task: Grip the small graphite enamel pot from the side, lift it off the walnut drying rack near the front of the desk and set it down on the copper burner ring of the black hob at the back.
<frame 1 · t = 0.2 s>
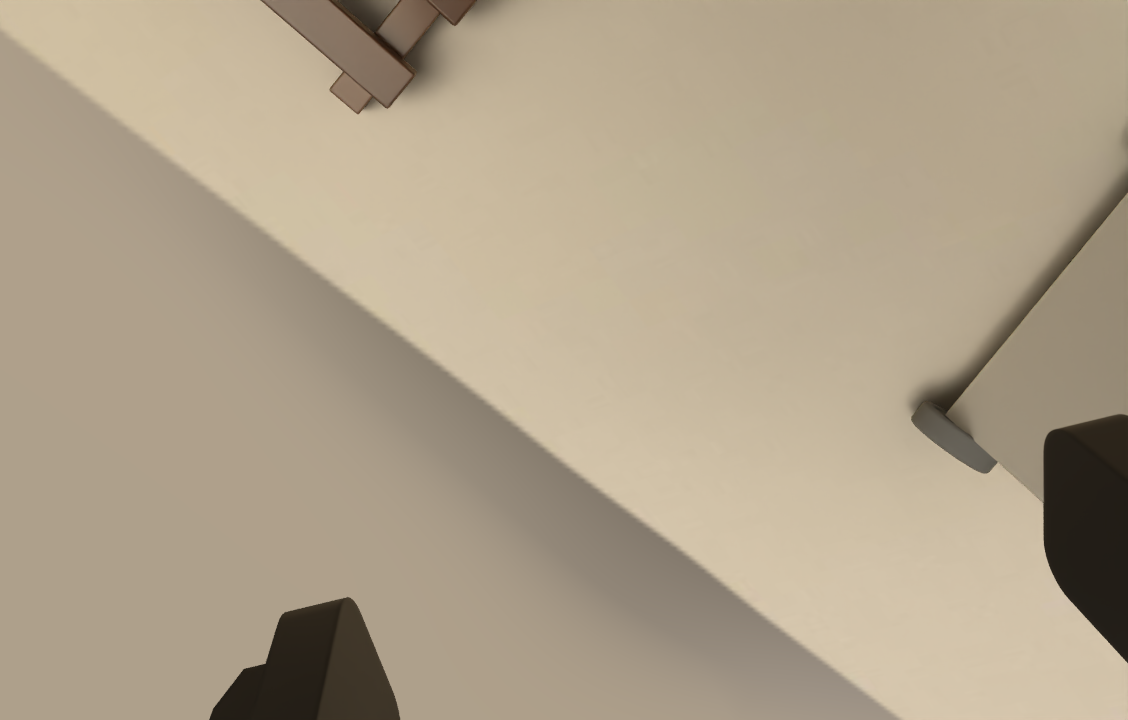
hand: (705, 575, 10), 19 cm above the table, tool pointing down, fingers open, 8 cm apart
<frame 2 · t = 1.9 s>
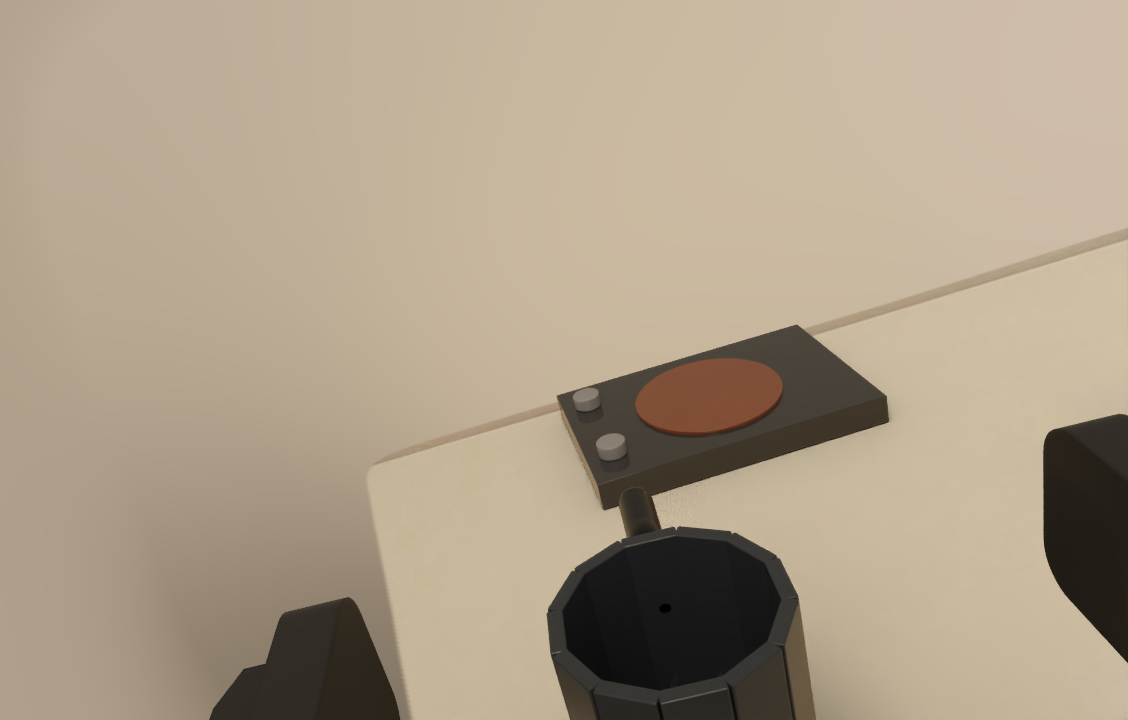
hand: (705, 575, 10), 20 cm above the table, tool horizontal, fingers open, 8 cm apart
stove: (712, 419, 52), on the table
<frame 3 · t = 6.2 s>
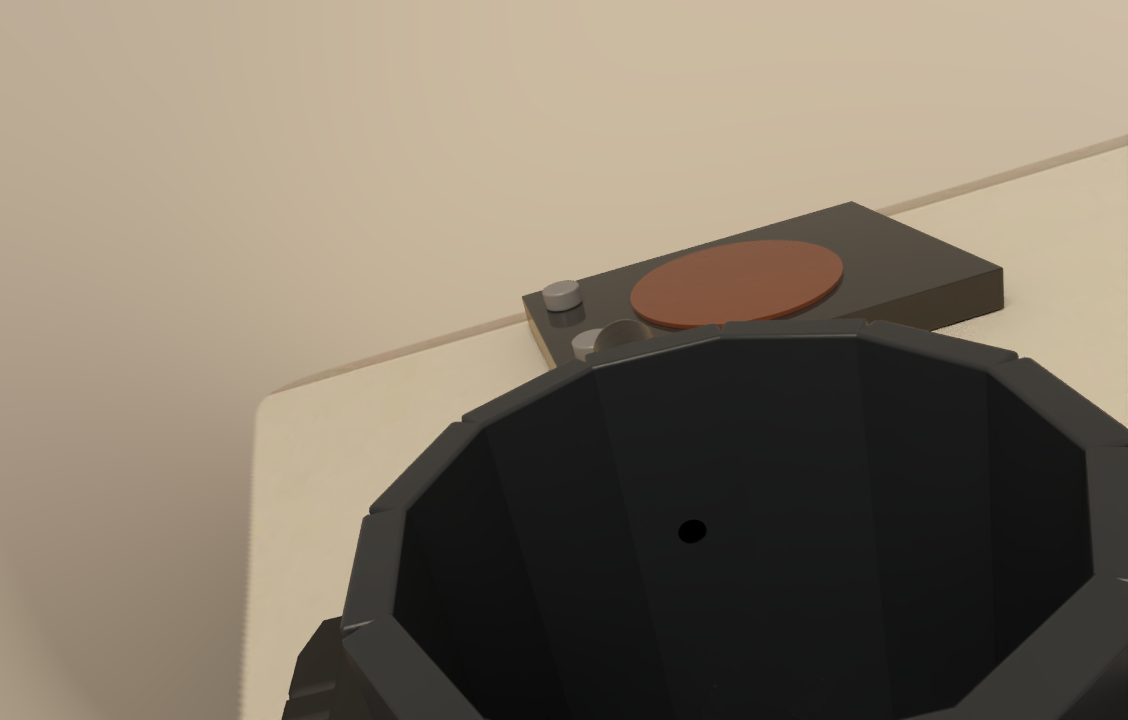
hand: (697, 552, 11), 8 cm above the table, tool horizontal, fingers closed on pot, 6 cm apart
stove: (739, 319, 37), on the table
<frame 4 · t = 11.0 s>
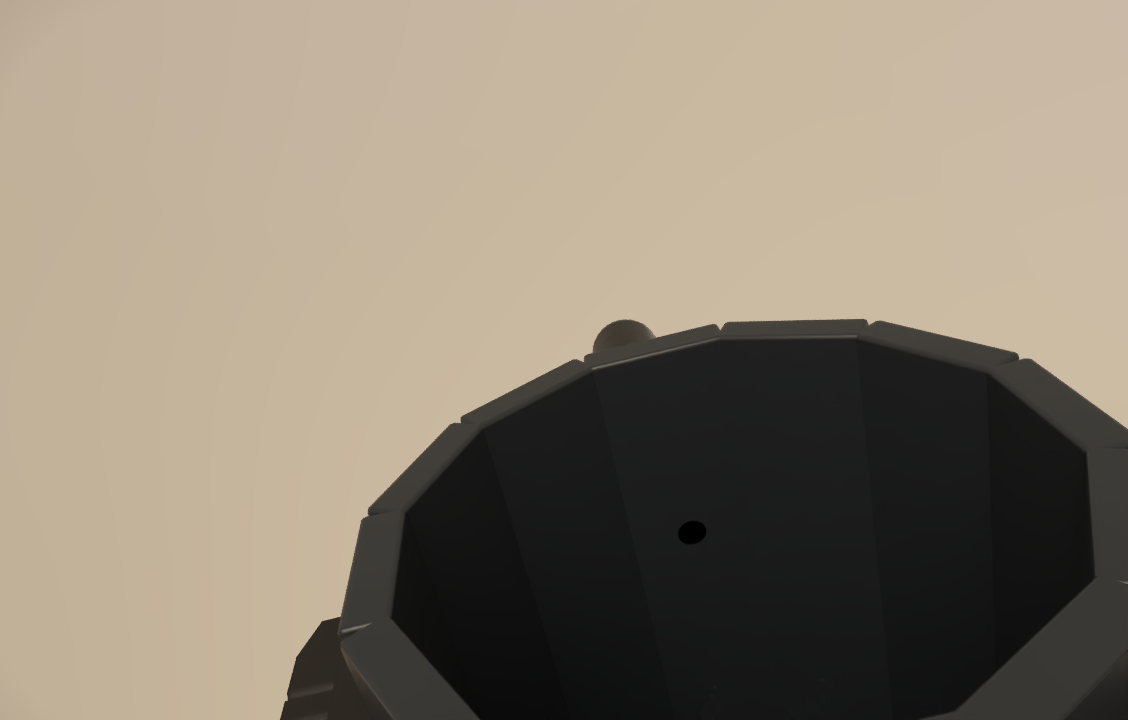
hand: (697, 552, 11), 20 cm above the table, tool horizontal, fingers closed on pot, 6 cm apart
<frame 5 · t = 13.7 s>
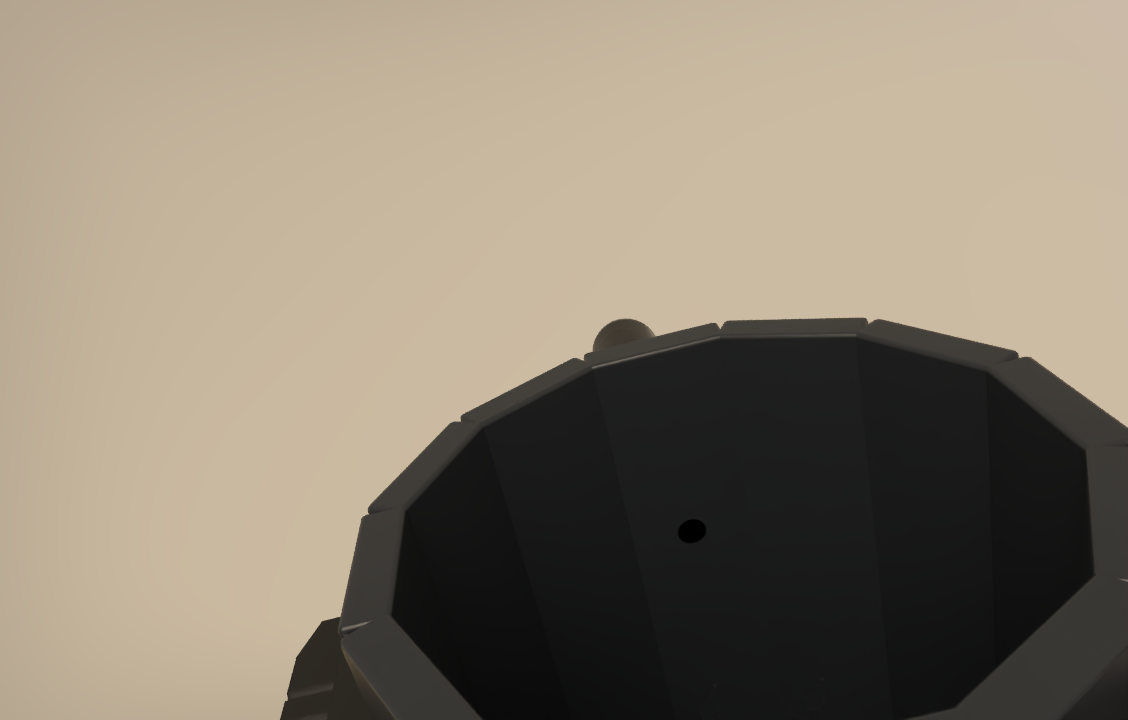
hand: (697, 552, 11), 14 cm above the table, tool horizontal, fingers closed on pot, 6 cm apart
when the fingers open (8 cm above the table, at t = 15.9 s): pot stays where it is, resting on stove.
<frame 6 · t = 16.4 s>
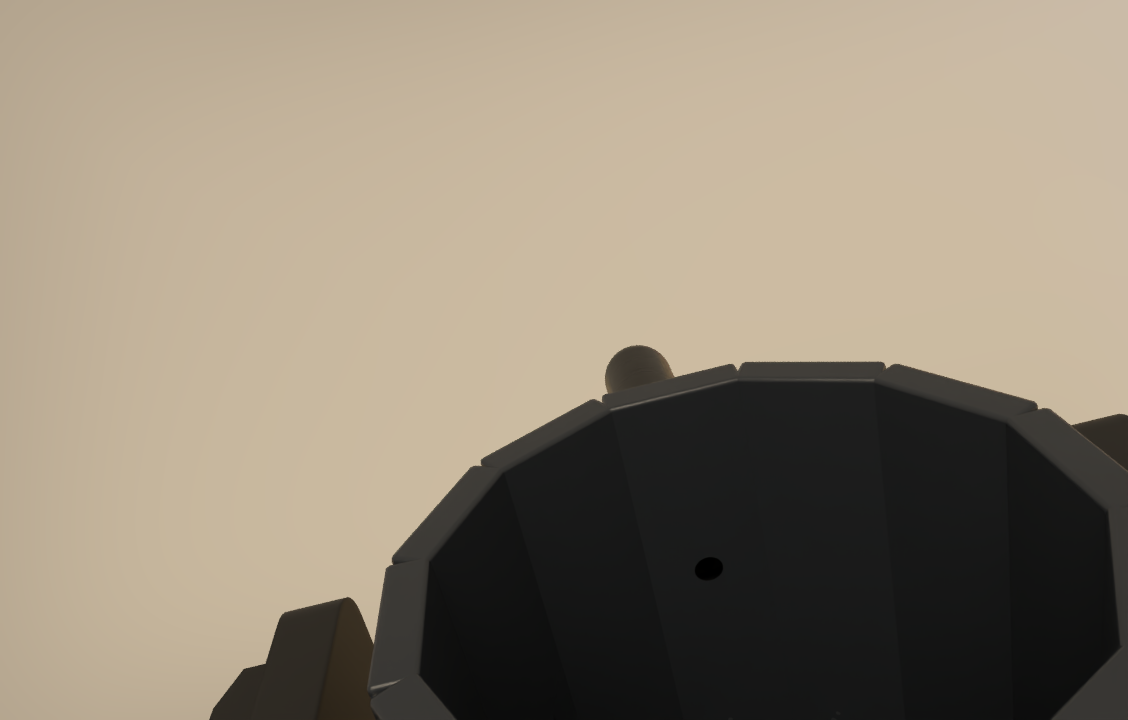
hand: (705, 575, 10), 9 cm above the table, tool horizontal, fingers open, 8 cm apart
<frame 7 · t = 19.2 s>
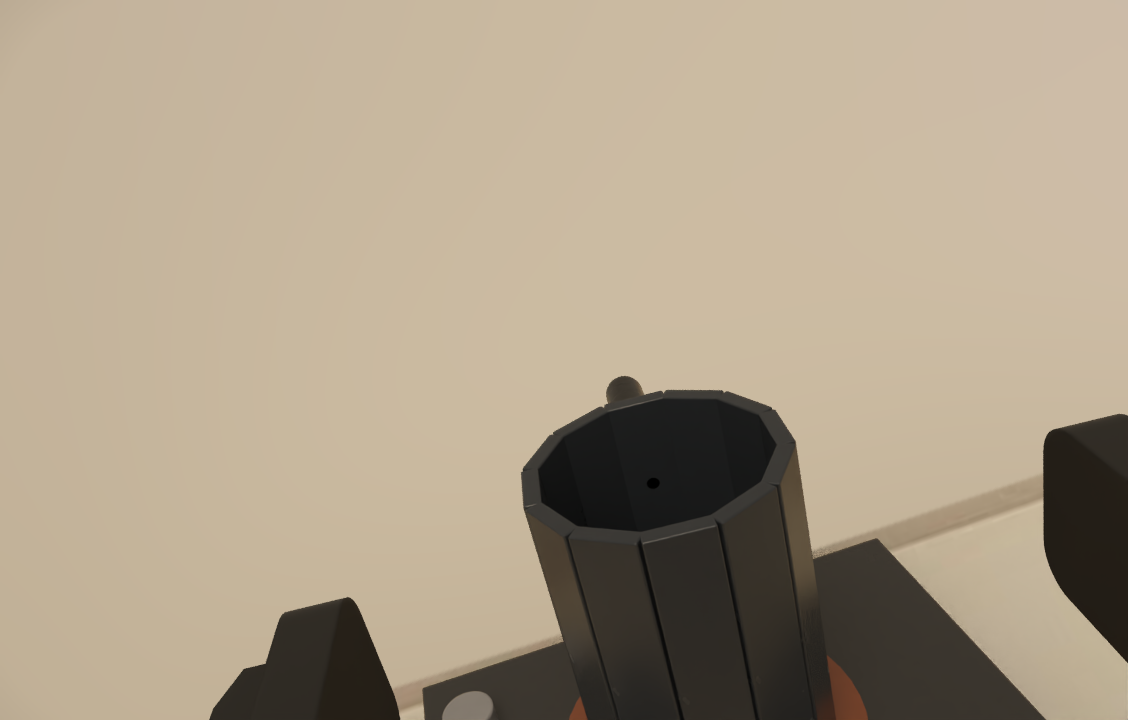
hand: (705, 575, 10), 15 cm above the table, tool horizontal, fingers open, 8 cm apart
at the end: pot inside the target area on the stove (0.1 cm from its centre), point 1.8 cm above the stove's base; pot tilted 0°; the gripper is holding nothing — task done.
